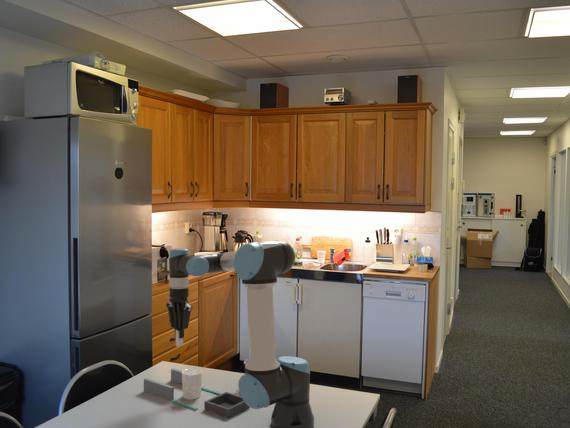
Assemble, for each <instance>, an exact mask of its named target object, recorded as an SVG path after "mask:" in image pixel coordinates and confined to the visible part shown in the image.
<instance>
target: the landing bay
mask: <svg viewBox="0 0 570 428" xmlns="http://www.w3.org/2000/svg"><path fill="white" fill-rule="evenodd" d="M202 390H203V391H206V392H209V393H212V394H215V395H217V396H218V395H220V394H222V392H219V391H218V390H217V391H216V390H214V389H211V388H208V387H204V386H201V391H202ZM171 402H172V403H174V404H176V405H179V406H183V407H185V408H188V409H191V410H194V411H197V410H199V408H198V407H196V406H193V405H191V404H187V403H185V402H182V401H179V400H176V399H174V400H171Z"/></svg>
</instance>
